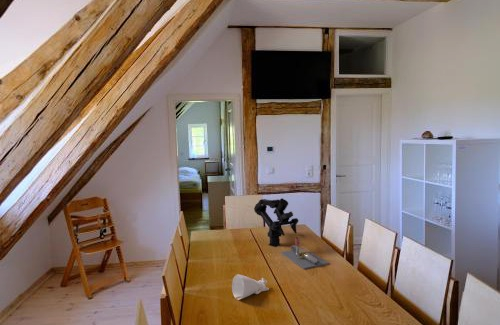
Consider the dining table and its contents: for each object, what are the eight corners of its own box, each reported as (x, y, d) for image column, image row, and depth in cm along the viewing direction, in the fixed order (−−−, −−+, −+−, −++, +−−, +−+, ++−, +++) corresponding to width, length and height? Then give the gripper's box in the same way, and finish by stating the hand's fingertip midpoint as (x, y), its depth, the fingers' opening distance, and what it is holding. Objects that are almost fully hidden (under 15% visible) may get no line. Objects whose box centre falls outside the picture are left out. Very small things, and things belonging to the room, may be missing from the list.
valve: (289, 251, 216) (289, 244, 216) (297, 250, 218) (297, 243, 218) (311, 266, 192) (311, 258, 192) (320, 264, 195) (320, 256, 194)
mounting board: (281, 253, 215) (281, 252, 215) (303, 249, 222) (304, 247, 222) (304, 269, 189) (304, 267, 189) (329, 264, 196) (329, 262, 196)
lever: (295, 256, 204) (295, 237, 203) (298, 255, 205) (298, 237, 204) (296, 257, 202) (296, 238, 201) (300, 256, 203) (300, 238, 202)
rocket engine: (269, 269, 167) (240, 269, 158) (277, 290, 160) (246, 292, 150) (258, 280, 174) (229, 281, 164) (265, 301, 166) (235, 304, 157)
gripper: (272, 209, 212) (282, 229, 202) (296, 206, 220) (306, 225, 210) (267, 219, 219) (276, 239, 210) (290, 215, 227) (300, 234, 218)
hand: (290, 234), depth 212 cm, fingers open, 9 cm apart
